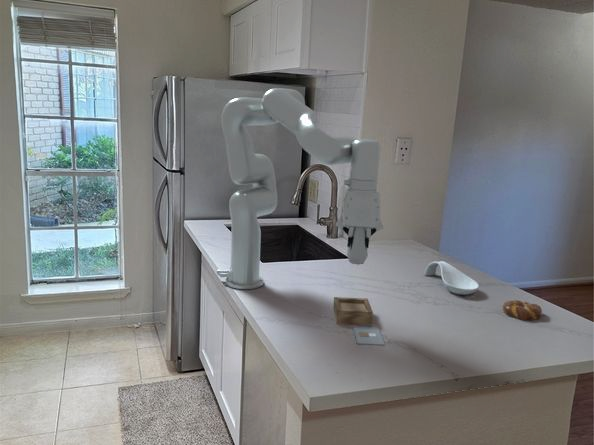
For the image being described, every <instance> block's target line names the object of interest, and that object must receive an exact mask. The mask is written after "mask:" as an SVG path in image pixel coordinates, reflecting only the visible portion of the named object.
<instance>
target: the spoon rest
mask: <svg viewBox="0 0 594 445" xmlns="http://www.w3.org/2000/svg"><path fill="white" fill-rule="evenodd" d="M438 266H439V267H440V275H441V280H442V283H443V285H444V287H445V288H446V289H447V291H449V292H450V293H451V294H455V295H459V296H460V295H461V296H466V295H467V296H468V295H471V294H474V293H475V292H477V291H478V290H479V288H480V285H479V283H478V282H477V281H476V280H475V279H472V278H471V277H470V276H468V275H466V274H465V273H463V272H462V271H460V270H459V269H458V268H456V267H454V266H453V265H452V264H449V262H446V261H443V260H441V261H433V262H430V263H429V264H428V265H427V266H426V268H425V270H424V276H430V277H431V276H435V275H436V274H437V268H438Z"/></svg>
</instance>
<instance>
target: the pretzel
mask: <svg viewBox="0 0 594 445" xmlns="http://www.w3.org/2000/svg"><path fill="white" fill-rule="evenodd" d="M502 310H503V313H504V314H505V315H506V316H508V317H511V318H514V317H515V319H518V320H521V321H526V320H527V321H528V320H529V321H532V320H536V319H540V318H541V317H542V314H543V309H542V308H541V306H540V305H539V304H537V303H530V302H528V301H521V300H507V301H505V302H504V303H503V305H502ZM527 321H526V322H527Z"/></svg>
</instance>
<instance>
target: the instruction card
mask: <svg viewBox="0 0 594 445" xmlns="http://www.w3.org/2000/svg"><path fill="white" fill-rule="evenodd" d="M352 329H353V332H354V336H355V339H356V343H357V345H369V346H371V345H373V346H374V345H375V346H385V345H386V344H385V342H384V339H383V336H382V334H381V331H380V329H379V327H375V326H374V327H371V326H355V325H354V326H352Z"/></svg>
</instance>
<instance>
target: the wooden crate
mask: <svg viewBox="0 0 594 445" xmlns="http://www.w3.org/2000/svg"><path fill="white" fill-rule="evenodd" d="M332 306H333V307H332V309H333V310H332V311H333V315H334V320H335V324H338V325H354V326H355V325H360V326H372V324H373V314H374V312H373V308H372V307H371V304H370V301H369V298H364V297H341V296H334V297H333V305H332Z"/></svg>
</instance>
